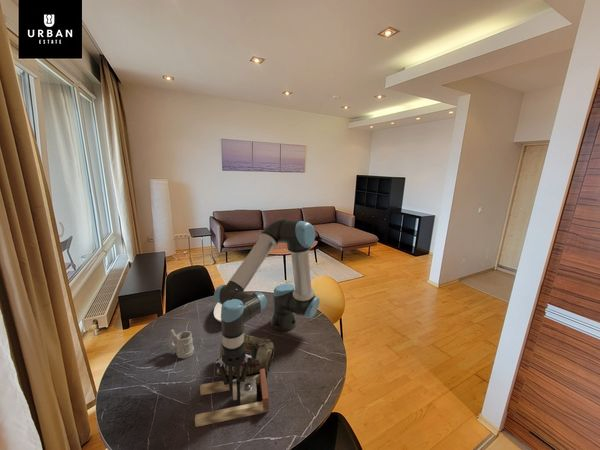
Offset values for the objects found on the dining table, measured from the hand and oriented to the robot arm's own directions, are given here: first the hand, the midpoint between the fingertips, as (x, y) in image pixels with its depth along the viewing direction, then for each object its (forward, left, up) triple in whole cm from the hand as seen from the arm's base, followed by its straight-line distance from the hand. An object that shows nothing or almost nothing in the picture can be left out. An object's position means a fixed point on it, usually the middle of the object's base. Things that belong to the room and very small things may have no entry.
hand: (235, 396), depth 93 cm
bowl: (+4, -61, -2) cm, 61 cm away
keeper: (-5, 0, -2) cm, 5 cm away
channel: (+1, 0, -2) cm, 2 cm away
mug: (+25, -32, -2) cm, 41 cm away
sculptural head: (-4, -16, -2) cm, 17 cm away
